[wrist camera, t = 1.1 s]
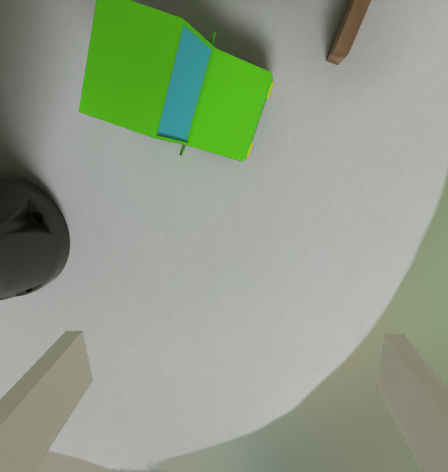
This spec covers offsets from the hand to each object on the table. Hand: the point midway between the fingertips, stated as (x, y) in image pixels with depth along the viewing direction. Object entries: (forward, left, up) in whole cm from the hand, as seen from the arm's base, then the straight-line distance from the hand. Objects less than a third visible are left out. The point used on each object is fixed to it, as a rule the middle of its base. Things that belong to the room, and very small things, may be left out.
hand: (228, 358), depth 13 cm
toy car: (-9, +11, -22) cm, 26 cm away
